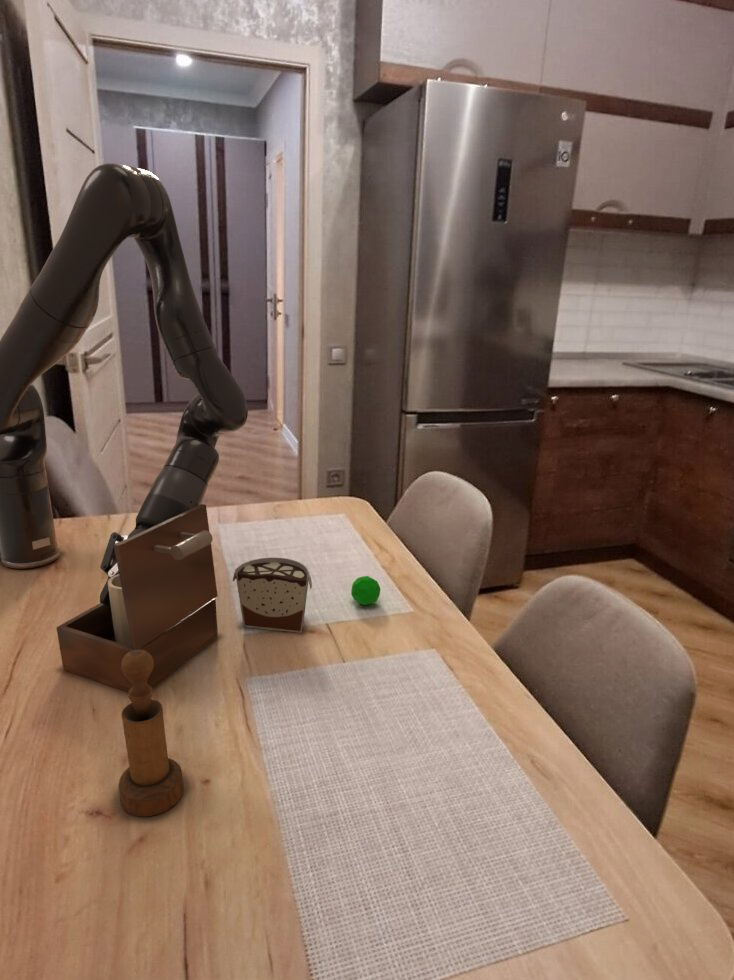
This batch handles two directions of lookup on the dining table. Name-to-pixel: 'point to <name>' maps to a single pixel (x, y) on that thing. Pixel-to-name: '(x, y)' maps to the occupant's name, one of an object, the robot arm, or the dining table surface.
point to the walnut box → (100, 656)
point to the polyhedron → (365, 590)
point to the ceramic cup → (119, 612)
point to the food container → (273, 593)
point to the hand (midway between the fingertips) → (122, 609)
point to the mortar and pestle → (146, 746)
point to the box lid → (166, 574)
